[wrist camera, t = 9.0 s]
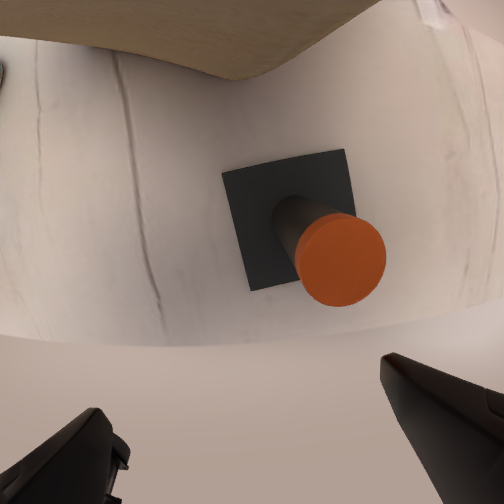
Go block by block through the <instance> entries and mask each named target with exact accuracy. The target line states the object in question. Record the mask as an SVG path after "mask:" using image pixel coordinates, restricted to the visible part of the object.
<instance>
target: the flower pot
mask: <svg viewBox="0 0 504 504" xmlns="http://www.w3.org/2000/svg"><path fill="white" fill-rule="evenodd" d="M379 1H381V0H0V36H10V37H19V38H28V39H37V40H45V41H53V42H62V43H69V44H78V45H85V46H93V47H101V48H107V49H113V50H118V51H124V52H129V53H134V54H138V55H143V56H147V57H151V58H155V59H159V60H163V61H167V62H171V63H175V64H178V65H182V66H186V67H189V68H192V69H196V70H199V71H202V72H205V73H208V74H211V75H214V76H217V77H220V78H224V79H228V80H241V79H248V78H252V77H256V76H258V75H261V74H264V73H266V72H268V71H270V70H272V69H274V68H276V67H278V66H280V65H281V64H283V63H285V62H287V61H289V60H290V59H292V58H294V57H295V56H297V55H298V54H300V53H301V52H303V51H304V50H306V49H307V48H309V47H310V46H312V45H314V44H315V43H317V42H318V41H320V40H321V39H322V38H324V37H325V36H327V35H328V34H330V33H331V32H333V31H334V30H336V29H338V28H339V27H341V26H342V25H344V24H345V23H347V22H348V21H350V20H351V19H353V18H354V17H356V16H357V15H359V14H360V13H362V12H363V11H365V10H366V9H368V8H369V7H371V6H373V5H374V4H376V3H378V2H379Z"/></svg>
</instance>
